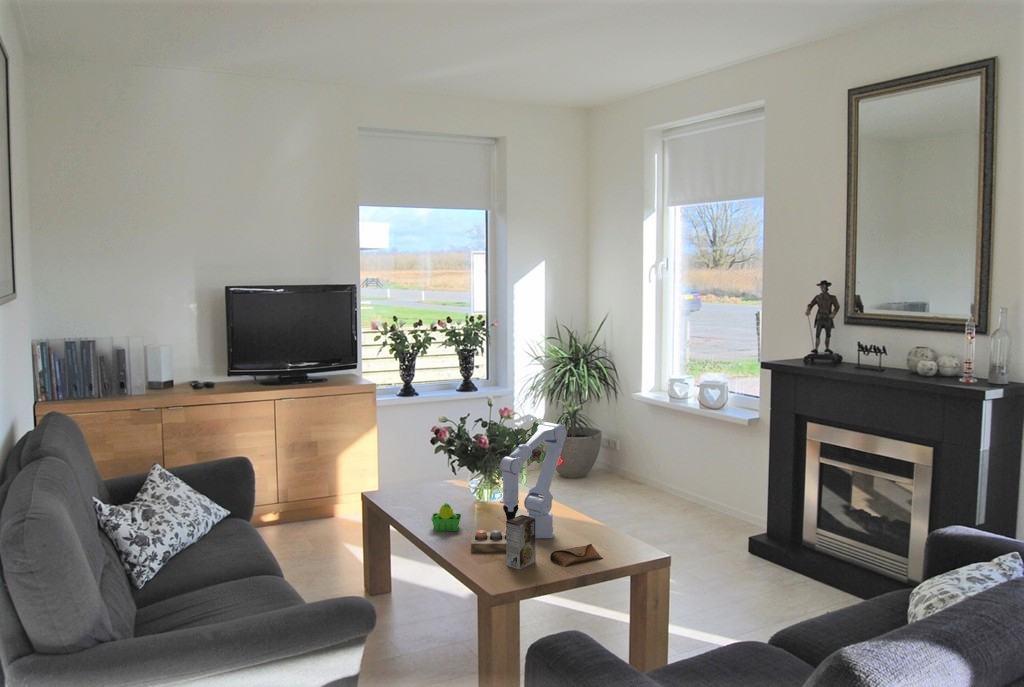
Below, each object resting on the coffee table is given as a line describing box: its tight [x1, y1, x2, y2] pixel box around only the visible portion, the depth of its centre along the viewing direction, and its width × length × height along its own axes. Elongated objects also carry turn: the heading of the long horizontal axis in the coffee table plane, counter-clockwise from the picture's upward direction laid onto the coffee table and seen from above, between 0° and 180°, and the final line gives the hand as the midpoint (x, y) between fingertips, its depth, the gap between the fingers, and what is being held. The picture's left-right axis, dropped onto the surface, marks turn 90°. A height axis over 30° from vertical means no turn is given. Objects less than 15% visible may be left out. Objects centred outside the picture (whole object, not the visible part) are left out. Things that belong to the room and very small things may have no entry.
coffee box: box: [505, 514, 537, 570], centre depth 282 cm, size 9×6×16 cm
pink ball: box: [475, 529, 488, 540], centre depth 302 cm, size 4×4×4 cm
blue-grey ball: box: [490, 529, 502, 540], centre depth 302 cm, size 4×4×4 cm
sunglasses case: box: [550, 543, 604, 568], centre depth 288 cm, size 18×7×7 cm, turn 120°
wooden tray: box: [470, 531, 506, 553], centre depth 302 cm, size 18×13×3 cm
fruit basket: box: [430, 502, 462, 532], centre depth 320 cm, size 11×9×11 cm
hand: (510, 524), depth 301 cm, fingers closed
